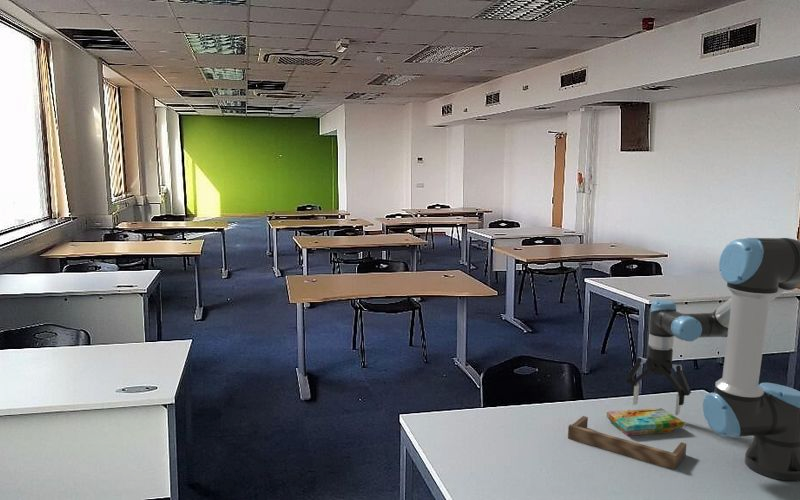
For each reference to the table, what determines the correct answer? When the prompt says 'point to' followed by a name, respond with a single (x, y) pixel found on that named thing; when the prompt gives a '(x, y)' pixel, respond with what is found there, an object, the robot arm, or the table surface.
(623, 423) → the puzzle game
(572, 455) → the table surface
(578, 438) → the frame
